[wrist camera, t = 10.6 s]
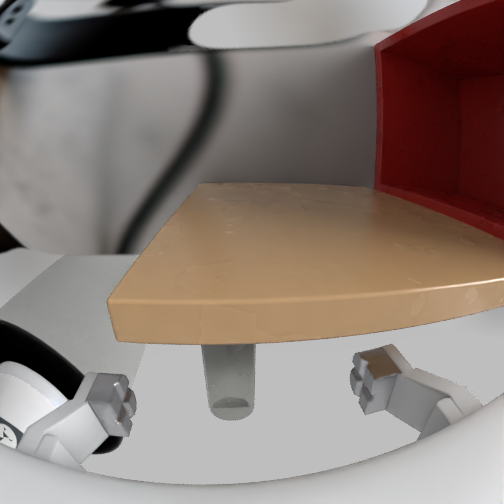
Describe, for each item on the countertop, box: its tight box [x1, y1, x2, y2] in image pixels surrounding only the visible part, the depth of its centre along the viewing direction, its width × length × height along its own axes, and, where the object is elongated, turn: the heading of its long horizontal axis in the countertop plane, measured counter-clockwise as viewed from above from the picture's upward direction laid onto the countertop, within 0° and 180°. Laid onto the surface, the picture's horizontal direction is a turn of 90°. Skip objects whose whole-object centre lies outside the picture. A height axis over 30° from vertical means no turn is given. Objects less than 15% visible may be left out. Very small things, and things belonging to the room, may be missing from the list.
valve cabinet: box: [374, 0, 504, 241], centre depth 10 cm, size 9×12×16 cm
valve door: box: [107, 183, 504, 420], centre depth 12 cm, size 6×12×15 cm, turn 89°
